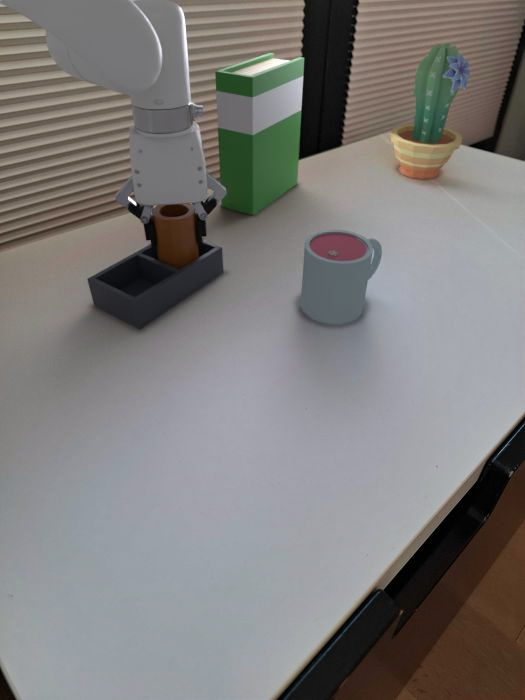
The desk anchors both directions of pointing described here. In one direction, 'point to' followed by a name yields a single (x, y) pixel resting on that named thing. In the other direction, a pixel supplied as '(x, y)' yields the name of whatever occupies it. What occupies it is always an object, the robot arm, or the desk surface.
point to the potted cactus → (431, 114)
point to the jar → (176, 234)
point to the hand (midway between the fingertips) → (177, 241)
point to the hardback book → (258, 130)
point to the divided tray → (152, 284)
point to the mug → (337, 275)
